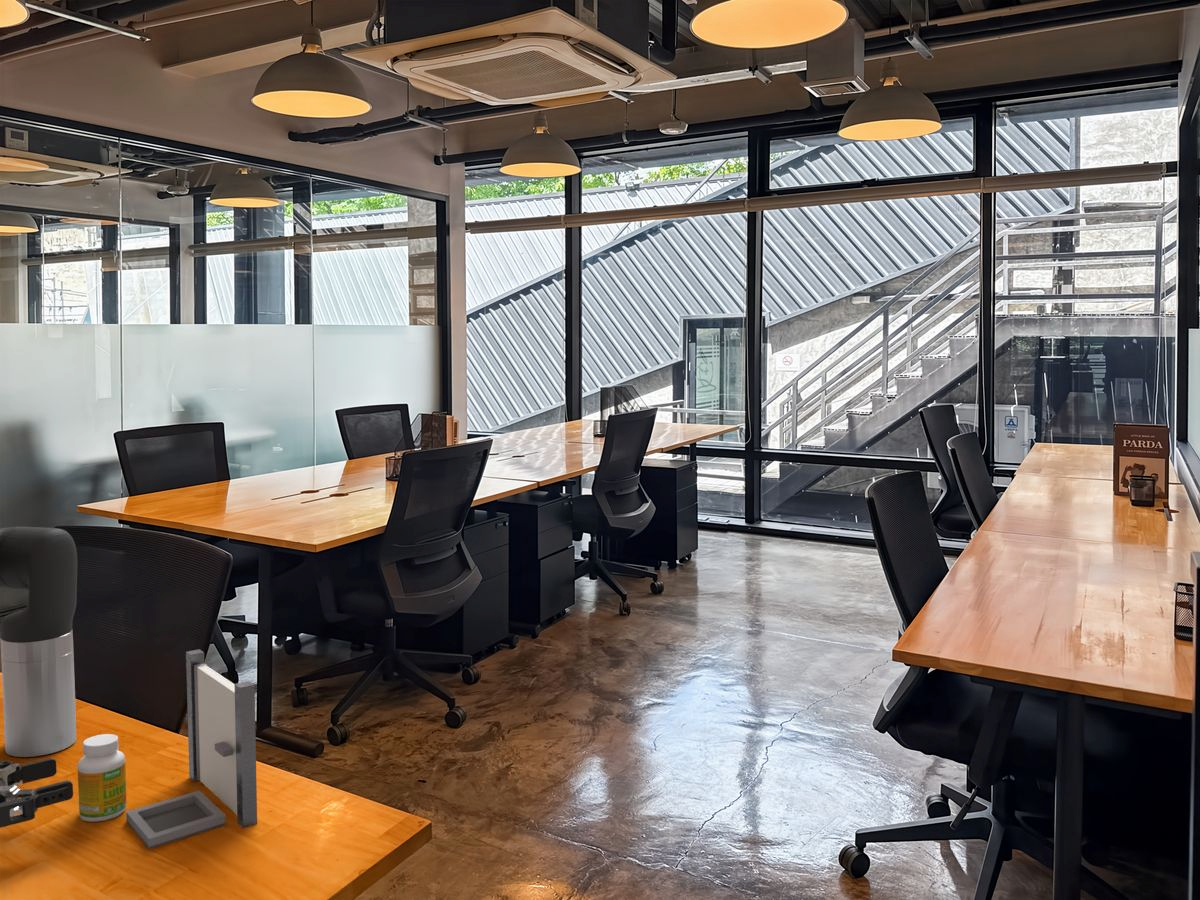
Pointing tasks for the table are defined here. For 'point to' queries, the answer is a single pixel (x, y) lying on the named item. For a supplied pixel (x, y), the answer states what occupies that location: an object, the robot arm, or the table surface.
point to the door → (216, 734)
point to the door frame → (243, 740)
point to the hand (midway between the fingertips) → (63, 777)
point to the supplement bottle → (101, 779)
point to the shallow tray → (175, 819)
